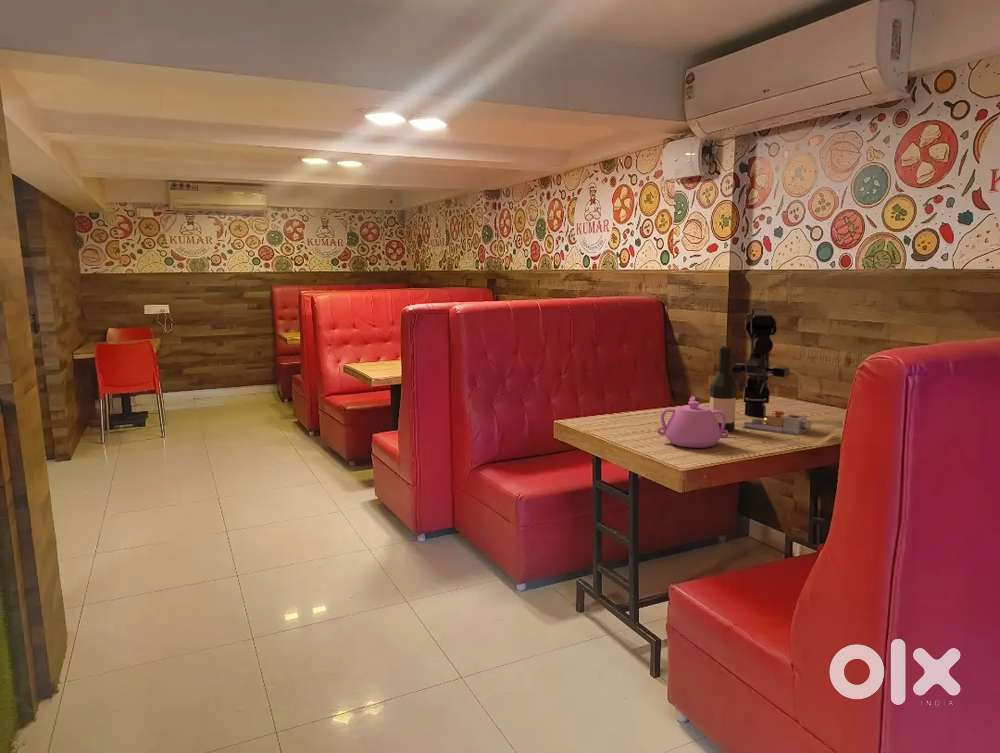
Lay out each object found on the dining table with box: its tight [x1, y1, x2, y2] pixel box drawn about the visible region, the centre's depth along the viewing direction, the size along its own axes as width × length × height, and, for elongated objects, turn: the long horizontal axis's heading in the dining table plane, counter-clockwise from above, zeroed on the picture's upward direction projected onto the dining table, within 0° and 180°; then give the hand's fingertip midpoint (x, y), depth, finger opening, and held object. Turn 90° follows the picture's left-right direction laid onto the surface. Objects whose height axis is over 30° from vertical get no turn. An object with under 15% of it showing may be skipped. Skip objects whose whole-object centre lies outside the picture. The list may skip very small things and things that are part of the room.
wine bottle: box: [709, 345, 737, 433], centre depth 229 cm, size 8×8×30 cm
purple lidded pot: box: [657, 395, 730, 449], centre depth 218 cm, size 22×22×14 cm
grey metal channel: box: [740, 413, 812, 437], centre depth 232 cm, size 21×12×6 cm, turn 50°
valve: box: [762, 410, 788, 427], centre depth 231 cm, size 11×5×6 cm, turn 48°
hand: (758, 393), depth 239 cm, fingers closed
